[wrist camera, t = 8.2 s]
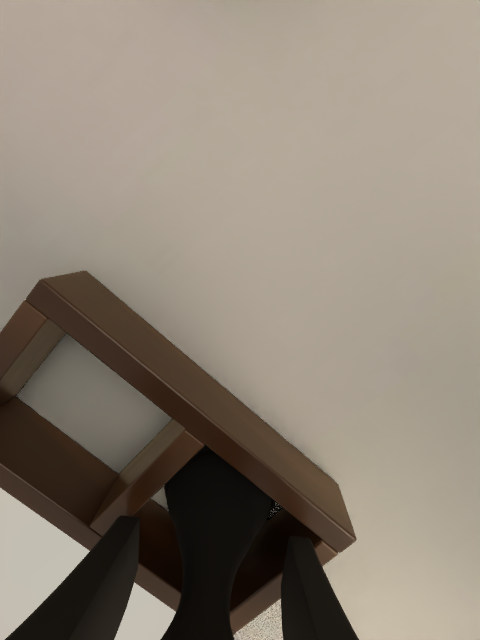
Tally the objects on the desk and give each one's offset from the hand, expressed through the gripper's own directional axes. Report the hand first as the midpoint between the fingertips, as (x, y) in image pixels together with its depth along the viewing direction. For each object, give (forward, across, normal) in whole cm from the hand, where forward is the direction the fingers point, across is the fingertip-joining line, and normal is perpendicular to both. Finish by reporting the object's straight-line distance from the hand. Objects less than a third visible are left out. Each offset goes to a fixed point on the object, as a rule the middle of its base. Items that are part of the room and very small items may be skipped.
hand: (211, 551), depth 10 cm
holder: (+3, +2, -2) cm, 4 cm away
